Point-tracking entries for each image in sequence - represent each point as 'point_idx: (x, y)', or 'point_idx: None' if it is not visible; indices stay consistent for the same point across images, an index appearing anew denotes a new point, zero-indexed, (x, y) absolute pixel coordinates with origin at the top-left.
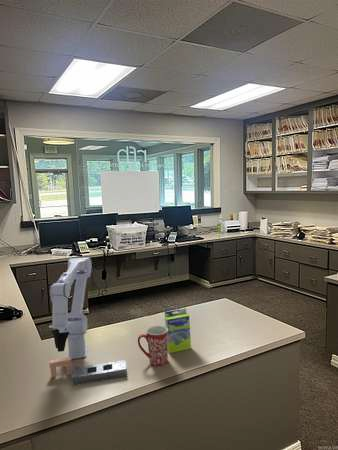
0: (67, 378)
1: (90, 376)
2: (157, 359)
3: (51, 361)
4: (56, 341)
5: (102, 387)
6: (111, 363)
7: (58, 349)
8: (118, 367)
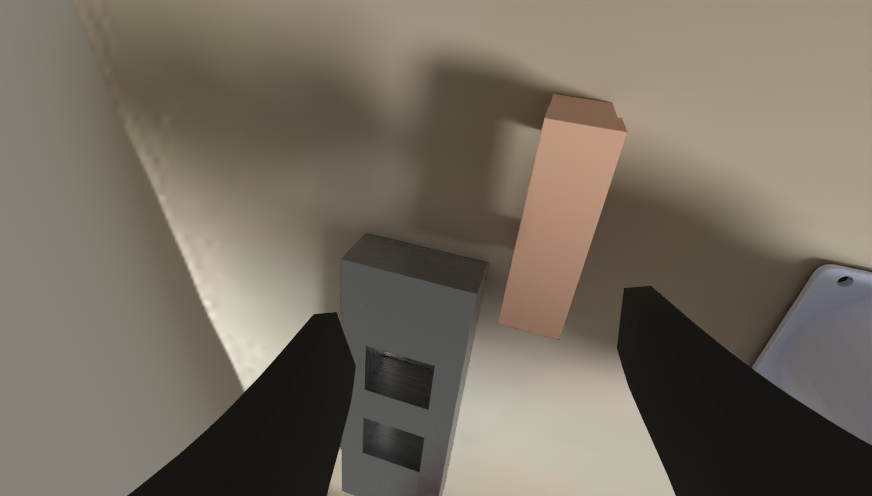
0: (473, 214)
1: None
2: None
3: (579, 145)
4: (230, 436)
5: None
6: (426, 472)
7: (299, 339)
8: (367, 476)
